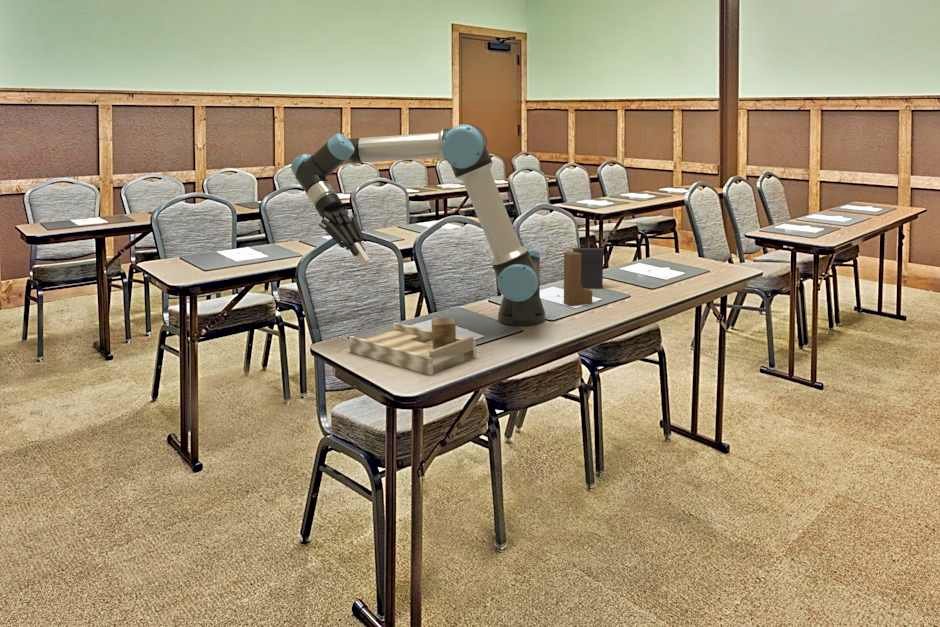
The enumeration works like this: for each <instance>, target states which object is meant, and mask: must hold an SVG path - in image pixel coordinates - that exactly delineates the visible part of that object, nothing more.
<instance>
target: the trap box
mask: <svg viewBox="0 0 940 627" xmlns="http://www.w3.org/2000/svg"><path fill="white" fill-rule="evenodd" d="M392 324H393V325H392V328H393V329H392V330H390V331H386V332H382V333H379V334H376V335H372V336H369V337H366V338H361V337H357V336H353V335H351V336H348V343H349V344H348V345H349V352H350V353H352V354H355V355H359V356H363V357H366V358H370V359H373V360H377V361H379V360H380V362H382V363H386V362H387V364H390V365H393V366H397V367H401V368H403V369H408V370H411V371H414V372H417V373H421V374H425V375H428V376H431V375H434V374H437V373H439V372H443V371H445V370H447V369H450V368H452V367H453V368H454V366H457V365H460V364H463V363H465V362H469V361H470V360H474V359H475V358H477V356H478V354H477V341H475V340H474V337H473V336H468V337H465V338H462V337H458V336H456V342H454V343H451V344H448V345H445V346H442V347H440V348H437V349H434V350H433V342H432V330H429V329H424V328H421V327H417V326H412V325H408V324H405V323H404V324H403V323H400V322H393V323H392Z"/></svg>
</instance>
